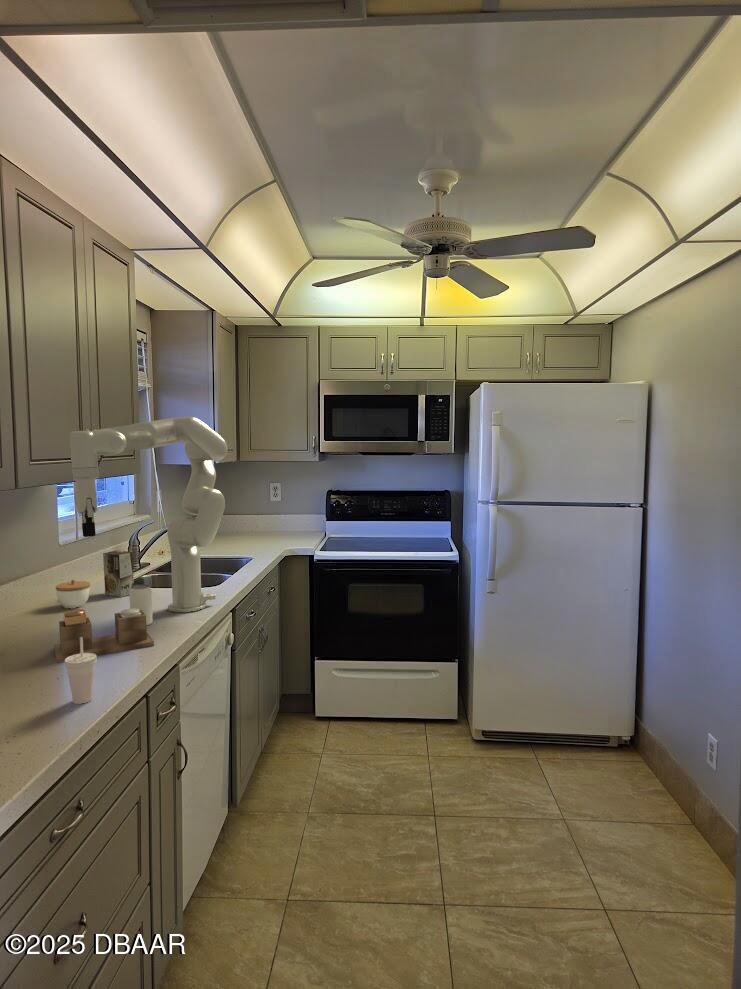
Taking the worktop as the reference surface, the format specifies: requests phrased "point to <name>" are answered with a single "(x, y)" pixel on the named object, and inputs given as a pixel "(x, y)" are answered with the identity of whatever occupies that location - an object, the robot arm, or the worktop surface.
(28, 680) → the worktop surface
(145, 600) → the can
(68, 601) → the lidded jar
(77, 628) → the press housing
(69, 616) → the copper plunger
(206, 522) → the robot arm
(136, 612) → the pale plunger
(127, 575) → the coffee box
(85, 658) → the smoothie
